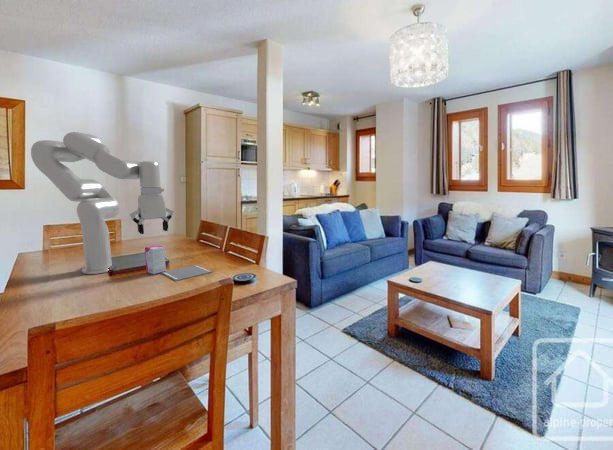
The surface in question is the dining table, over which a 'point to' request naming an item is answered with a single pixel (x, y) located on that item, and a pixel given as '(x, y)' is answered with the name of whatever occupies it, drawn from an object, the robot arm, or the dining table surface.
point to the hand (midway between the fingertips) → (153, 232)
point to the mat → (186, 272)
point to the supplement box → (155, 260)
